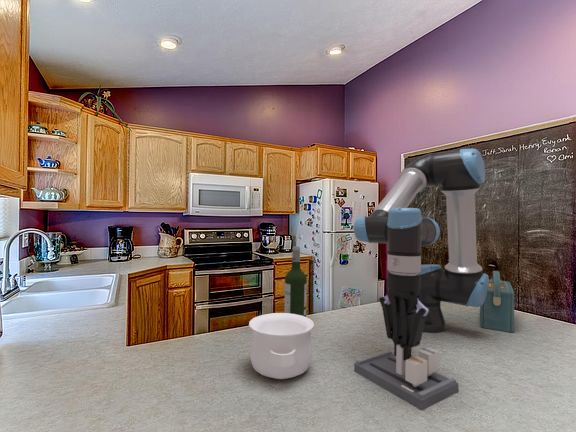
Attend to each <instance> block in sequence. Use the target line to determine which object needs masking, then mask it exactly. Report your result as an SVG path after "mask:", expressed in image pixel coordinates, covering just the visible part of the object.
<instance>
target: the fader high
mask: <svg viewBox="0 0 576 432" xmlns="http://www.w3.org/2000/svg"><path fill="white" fill-rule="evenodd" d="M417 354H418V355H417V356H418V357H420V358H422V359H425V360H427V376H430V375H432V373H434V372H435V373H437V372H438V371H439V367H440V366H439V359H440V357H439V354H440V352H439V350H436V349H433V348H430V347H426V348H425V347H422V349H420V350H417Z"/></svg>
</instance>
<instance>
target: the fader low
mask: <svg viewBox="0 0 576 432" xmlns="http://www.w3.org/2000/svg"><path fill="white" fill-rule="evenodd" d="M405 380H406V381H408V382H410V383H412V386H413V387H415V388H416V387H418V386H420V384H421V383H424V382H426V381H427V360H425V359H422V358H420V357H418V355H416V356H412V357H410V359H407V360H406V366H405Z"/></svg>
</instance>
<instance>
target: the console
mask: <svg viewBox="0 0 576 432" xmlns="http://www.w3.org/2000/svg"><path fill="white" fill-rule="evenodd" d="M353 370H354V373H357V374H359V375H360V376H363V377H364V378H365V379H367V380H369V381H370V382H372V383H374V384H376V385H378V386H379V387H381V388H383V389H384V390H385V391H388V392H390V393H391V394H393V395H395V396H397V397H398V398H401V399H402V400H404V401H405V402H407V403H409V404H410V405H412V406H413V407H416V408H418V410H421V411H423V410H424V409H426V408H428V407H430V406H433V405H435V404H436V403H439V402H441V401H443V400H444V399H446V398H448V397H450V396H451V397H452V395H455V394H456V393H458V392H459V388H460V387H459V382H457V379H456V378H453V377H451V378H448V377H446V376H444V375H442V374H440V373H437V372H434V373H432V375H430V376H427V381H426V382H424V383H421V384H420V386H418V387H416V388H415V387H413V386H412V383H410V382H408V381H406V380H405V374H403V375H400V374H398V373H396V357H395V355H394V352H393V351H392V350H390V349H389V350H385V351H382V352H379V353H376V354H372V355H369V356H366V357H364V358H360V359H356V362H355V363H354V364H353Z"/></svg>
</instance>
